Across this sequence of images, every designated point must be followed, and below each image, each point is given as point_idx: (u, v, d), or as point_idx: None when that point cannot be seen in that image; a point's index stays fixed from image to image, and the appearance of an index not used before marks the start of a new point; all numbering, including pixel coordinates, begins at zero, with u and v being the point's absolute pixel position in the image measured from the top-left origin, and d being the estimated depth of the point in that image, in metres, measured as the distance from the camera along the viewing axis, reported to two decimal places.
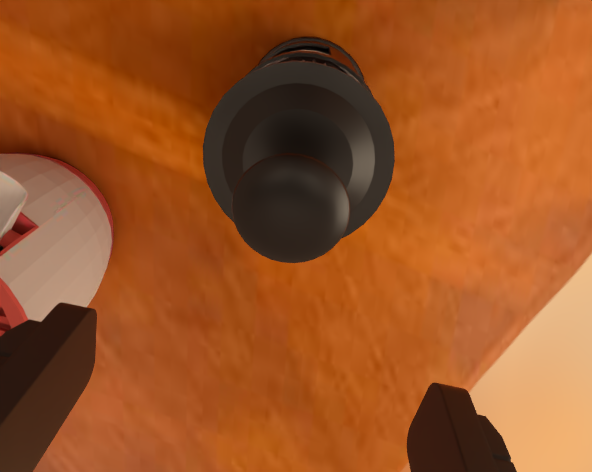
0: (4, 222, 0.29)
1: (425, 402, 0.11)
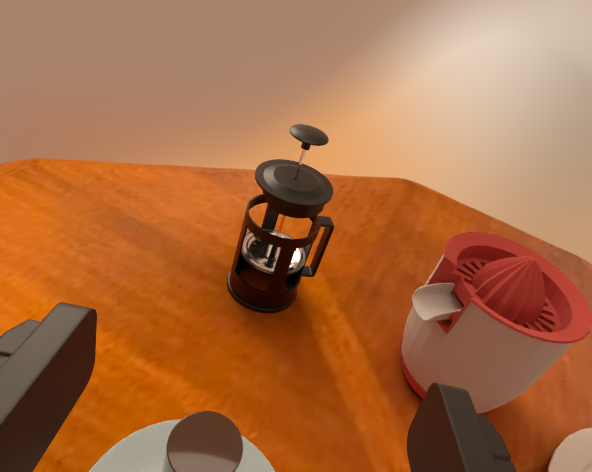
0: (436, 298, 0.49)
1: (425, 402, 0.11)
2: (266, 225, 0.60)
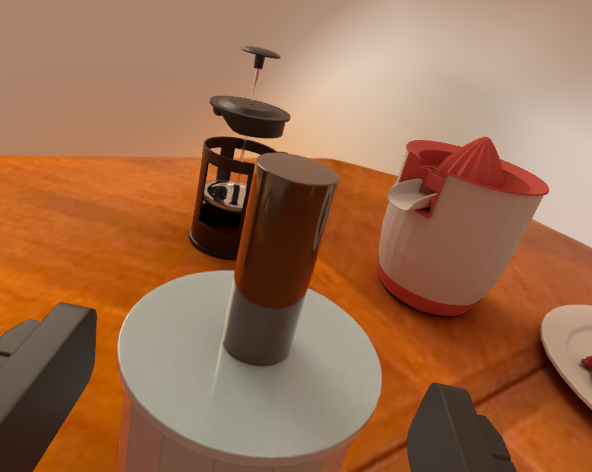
0: (409, 196, 0.50)
1: (425, 402, 0.11)
2: (221, 175, 0.57)
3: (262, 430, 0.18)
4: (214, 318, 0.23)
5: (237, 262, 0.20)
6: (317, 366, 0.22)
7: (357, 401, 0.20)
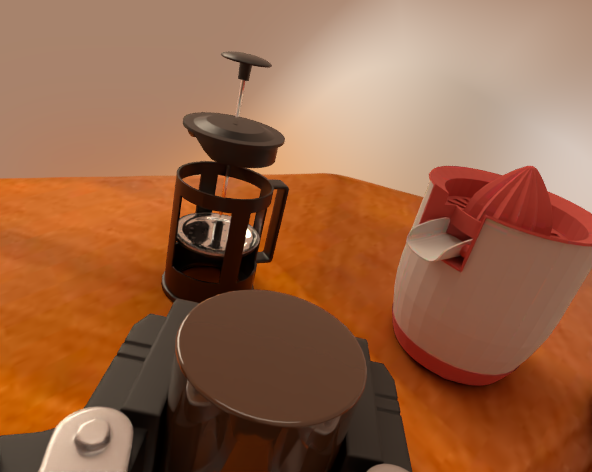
0: (433, 239, 0.40)
1: None
2: (201, 207, 0.47)
3: None
4: None
5: None
6: None
7: None
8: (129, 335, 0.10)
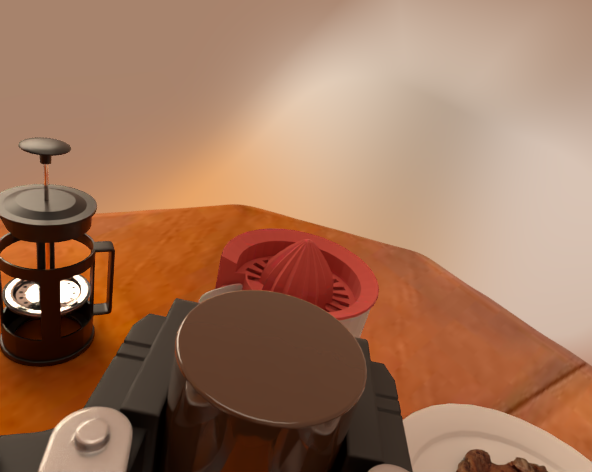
0: None
1: None
2: (42, 265, 0.52)
3: None
4: None
5: None
6: None
7: None
8: (129, 335, 0.10)
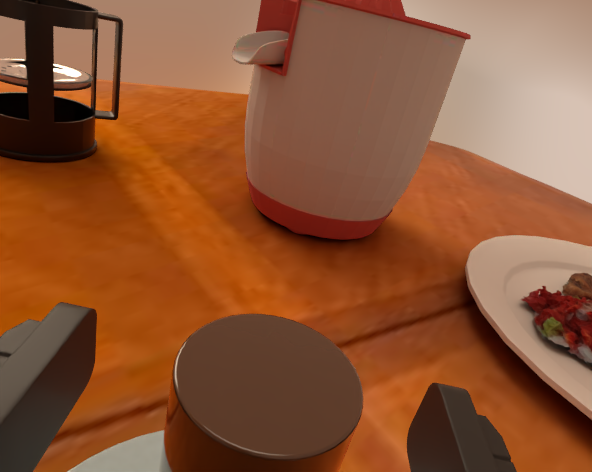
0: None
1: (425, 402, 0.11)
2: None
3: None
4: None
5: None
6: None
7: None
8: None
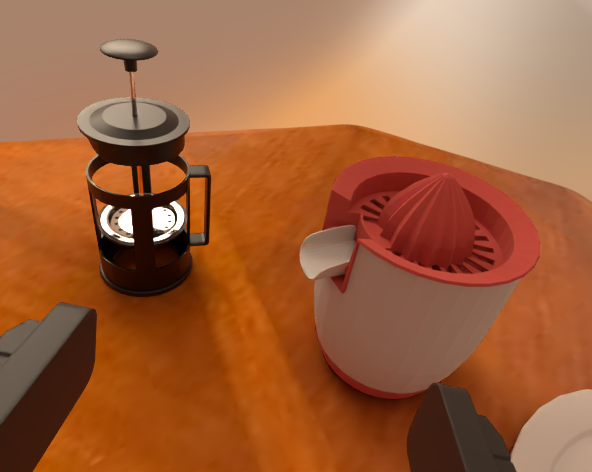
0: (333, 248, 0.36)
1: (425, 402, 0.11)
2: (138, 188, 0.48)
3: None
4: None
5: None
6: None
7: None
8: None
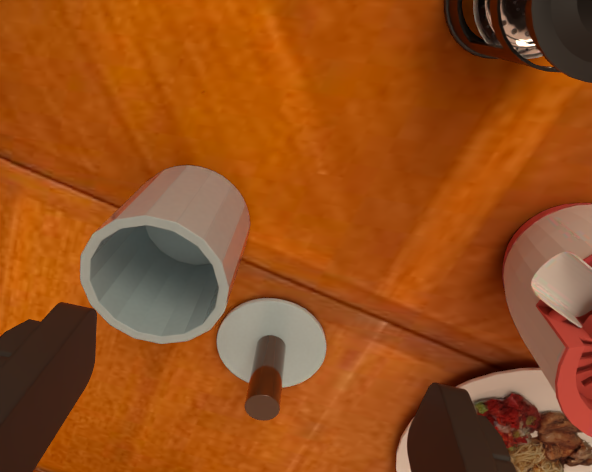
0: (587, 275, 0.34)
1: (425, 402, 0.11)
2: None
3: (237, 366, 0.54)
4: (269, 328, 0.51)
5: (255, 365, 0.48)
6: None
7: None
8: None
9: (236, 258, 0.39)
